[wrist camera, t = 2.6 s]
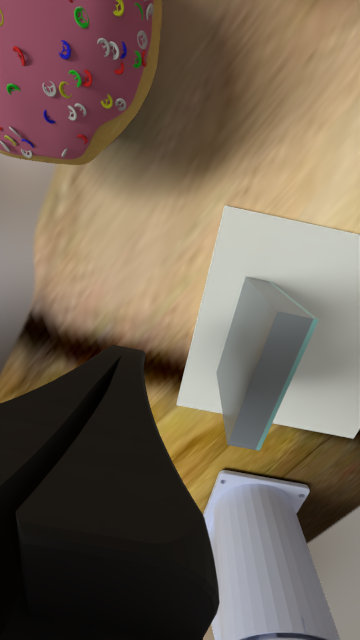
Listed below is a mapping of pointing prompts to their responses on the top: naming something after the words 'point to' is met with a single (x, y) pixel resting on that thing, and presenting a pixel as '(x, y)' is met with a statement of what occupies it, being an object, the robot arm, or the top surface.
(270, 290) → the tile
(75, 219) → the top surface
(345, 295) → the mat
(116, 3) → the cupcake
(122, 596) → the robot arm
